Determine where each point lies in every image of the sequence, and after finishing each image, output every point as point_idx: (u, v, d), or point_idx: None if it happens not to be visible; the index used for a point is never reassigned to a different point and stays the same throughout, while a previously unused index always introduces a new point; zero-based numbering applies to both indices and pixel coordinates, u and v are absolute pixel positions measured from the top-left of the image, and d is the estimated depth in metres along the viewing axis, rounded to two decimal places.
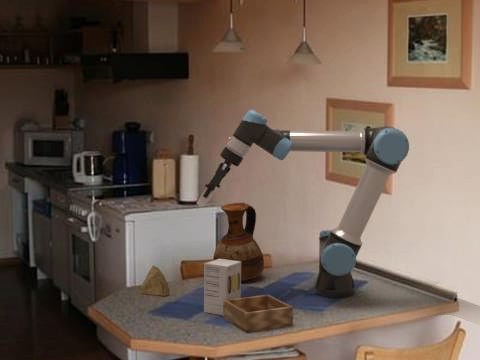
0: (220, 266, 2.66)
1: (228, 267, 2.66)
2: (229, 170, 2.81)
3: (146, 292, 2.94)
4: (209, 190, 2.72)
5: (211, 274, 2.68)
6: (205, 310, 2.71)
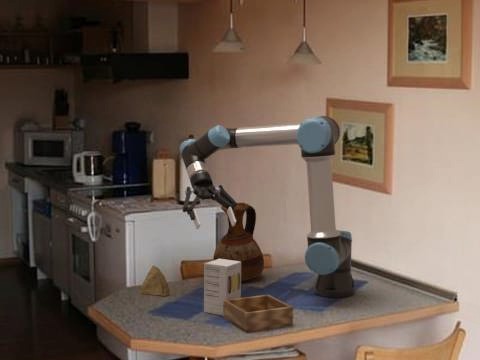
0: (220, 266, 2.66)
1: (228, 267, 2.66)
2: (208, 188, 2.87)
3: (146, 292, 2.94)
4: (189, 211, 2.80)
5: (211, 274, 2.68)
6: (205, 310, 2.71)
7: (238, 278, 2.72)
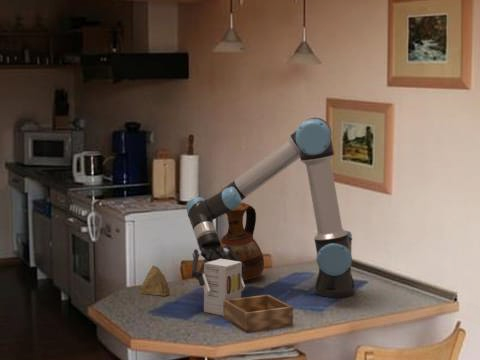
0: (219, 266, 2.66)
1: (227, 267, 2.66)
2: (215, 250, 2.77)
3: (146, 292, 2.94)
4: (198, 277, 2.70)
5: (211, 274, 2.68)
6: (205, 310, 2.71)
7: (238, 278, 2.71)
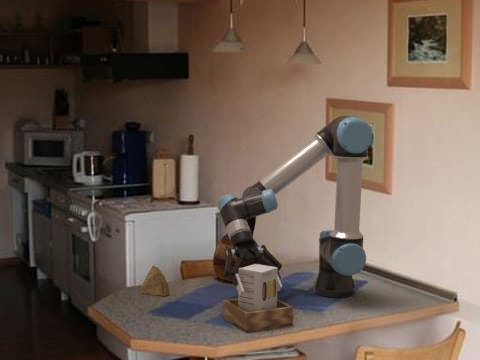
0: (255, 272, 2.54)
1: (263, 273, 2.54)
2: (250, 249, 2.65)
3: (146, 292, 2.94)
4: (231, 276, 2.57)
5: (246, 280, 2.56)
6: None
7: (274, 285, 2.59)
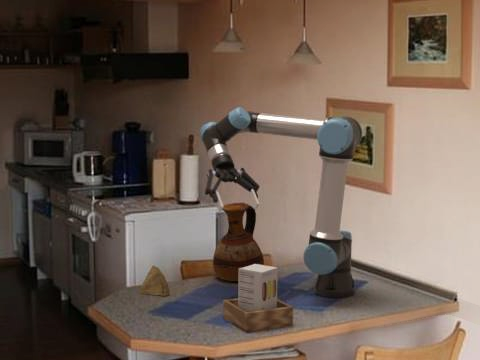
0: (255, 272, 2.54)
1: (263, 273, 2.54)
2: (230, 170, 2.85)
3: (146, 292, 2.94)
4: (212, 194, 2.78)
5: (246, 280, 2.56)
6: None
7: (274, 285, 2.59)
